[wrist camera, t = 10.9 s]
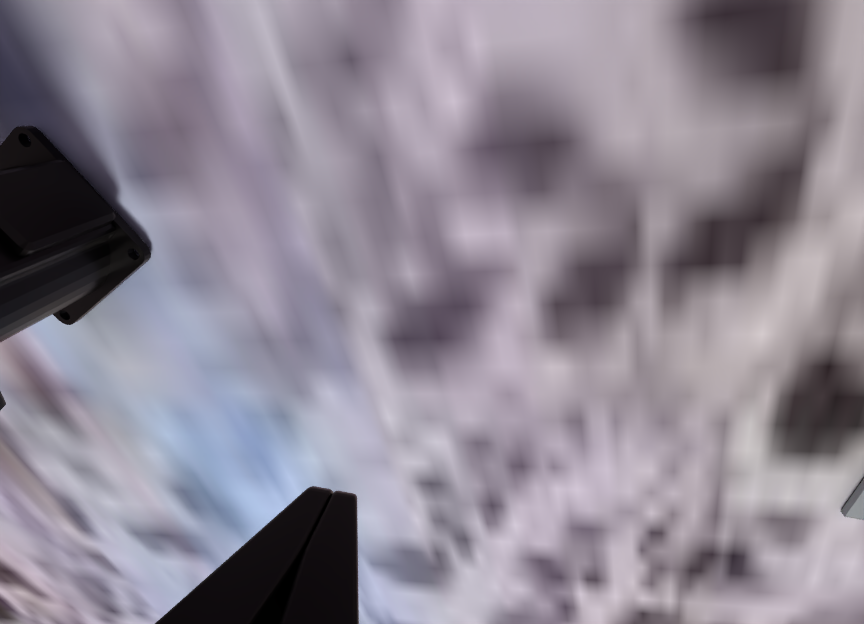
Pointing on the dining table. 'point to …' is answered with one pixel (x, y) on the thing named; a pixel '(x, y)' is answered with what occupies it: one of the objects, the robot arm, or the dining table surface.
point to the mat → (855, 504)
